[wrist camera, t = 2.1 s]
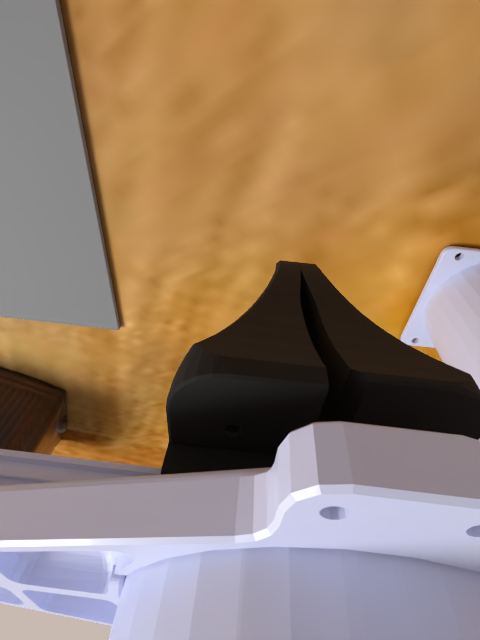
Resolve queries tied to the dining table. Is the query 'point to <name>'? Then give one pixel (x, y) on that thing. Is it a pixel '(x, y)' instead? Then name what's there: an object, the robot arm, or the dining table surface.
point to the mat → (46, 179)
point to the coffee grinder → (30, 414)
